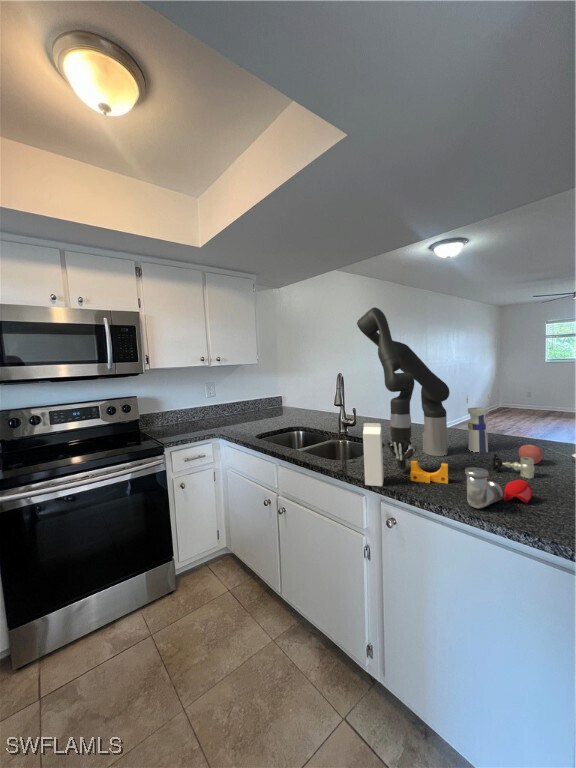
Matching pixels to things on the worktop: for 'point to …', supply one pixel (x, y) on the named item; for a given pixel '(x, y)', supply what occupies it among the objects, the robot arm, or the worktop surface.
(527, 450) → the apple
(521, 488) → the cap
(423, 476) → the pipe clamp
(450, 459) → the worktop surface
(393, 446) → the robot arm
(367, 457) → the milk
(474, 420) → the water bottle
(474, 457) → the worktop surface
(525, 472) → the valve
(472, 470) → the duct elbow
